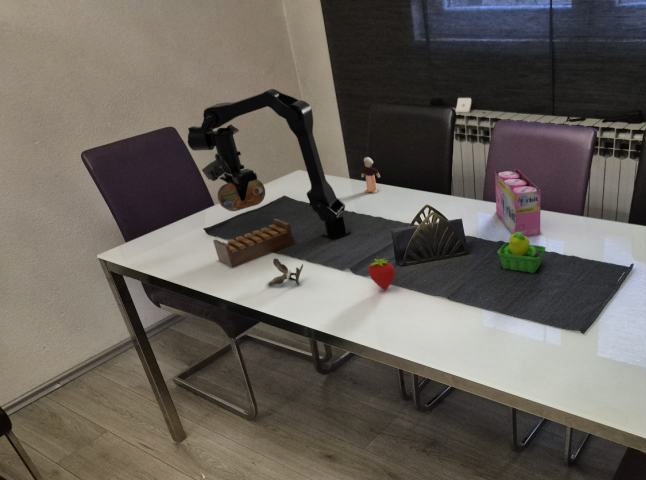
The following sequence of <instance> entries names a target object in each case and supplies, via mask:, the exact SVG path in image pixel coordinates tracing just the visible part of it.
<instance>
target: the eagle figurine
mask: <svg viewBox="0 0 646 480" xmlns="http://www.w3.org/2000/svg"><path fill="white" fill-rule="evenodd" d="M272 263H273V265H274V266H275V268H276V269H277V270H278V271H279V272H280V273H282V275H279V276H276V277H274V278H273V279H272V280H271V281H270V282H268V286H269V287H272V286H275V285H281V284H284V281H285V280H286V282H288V281H289V280H290V281H292V282H295V283H296V285H297V286H299V285H300V283H299V279H300V275H301V272H302V271H303V267H304V263H302V264H301V266H300V268H299V267H295V272H292V271H291V269H289V268H288V267H287V266H286V265H285V264H283V263H281V261H280V260H279V258H273V261H272ZM292 276H295V278H294V277H292Z"/></svg>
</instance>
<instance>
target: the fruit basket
mask: <svg viewBox="0 0 646 480" xmlns="http://www.w3.org/2000/svg"><path fill="white" fill-rule="evenodd" d="M530 243H531V242H530V239H529V238H528V236H524V235H523V234H522V233H521V232H516V233H514V234H512V233H511V236H510V237H509V241H507V242H505V243H504V244H503V245H502V246H501V247H500V248H499V249H498V250H497V252H496V253H497V256H498V258H499V260H500V264H501V266H502V269H503V270H510V271H519V272H525V273H530V274H535V272H536V271H537V270H538V269H539V268H540V266H541V263H542V260H543V257H544V253H545V251H546V249H547V248H546V246H544V245H535V244H530Z"/></svg>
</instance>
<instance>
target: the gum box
mask: <svg viewBox="0 0 646 480" xmlns="http://www.w3.org/2000/svg"><path fill="white" fill-rule="evenodd" d="M494 174H495V177H494V178H495V179H494V181H495V182H494V183H495V211H496V214H497V215H498V216H499V218H500V219H501V220H502V222H503V223H504V224H505V226H506V227H507V229H508V230H509V231H510V232H511V235H512V234H514V233H516V232H521V233H522V234H523V235H524V236H526V237H531V236H538V235H540V234H541V200H542V196H541V195H542V194H541V193H542V191H541V189H540V188H539V187H538V186H537V185H535V184H534V183H533V182H532V181H531V180H530V179H529V178H528V177H526V176H525V174H523V173H522V171H520V170H519V169H518V168H512V170H511V171H502V172H499V171H498V170H496V171H494Z"/></svg>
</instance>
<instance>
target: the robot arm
mask: <svg viewBox="0 0 646 480" xmlns="http://www.w3.org/2000/svg"><path fill="white" fill-rule="evenodd" d="M264 108H270V109H271V110H272V111H273V112H274V113H275V114H276V115H277V116H279V117H281V118H283V119H285V121H286V123H287V126H288V128H289V129H290V131H291V132H292V133H293V134H294V136H295V137H296V139H297V142H298V146H299V149H300V152H301V156H302V159H303V163H304V166H305V169H306V172H307V176H308V179H309V182H310V189H309V190H308V191H307V192H306V197H307V199H308V201H309V207H311V209H312V210H313V211H314V213H316V214H317V215H318V217H319V219H320V221H322V222H324V226H325V227H324V228H325V232H323V233H322V236H324V237H327V238H329V239H332V240H337V239H339V238H342V237H345V236H347V235H350V234H351V231H350V230H347V229H346V224H345V218H344V215H343V213H344V212H345V211H346V210H345V209H346V204H345V203H344V202H343V201H342V200H341V199H339V198H338V197H337V196H336V193H335V191H334V189H333V187H332V186H331V184H330V183H329V182H328V181H327V179H326V175H325V171H324V168H323V164H322V161H321V157H320V154H319V150H318V147H317V144H316V140H315V136H314V131H313V130H314V116H313V115H314V114H313V108H312V107H311V105H310V103H308V102H307V101H305V100H302V99H301V100H299V99H297V98H296V97H293V96H291V95H288V94H285V93H282V92H281V91H279V90H277V89H275V88H270V89H269V88H268V89H267V90H265V91H263V92H261V93H257V94H254V95H251V96H248V97H246V98H244V99H241V100H237V101H232V102H231V101H230V102H228V101H227V102H219V103H216V104H213V105H211V106H209V107H206V108H204V110H203V116H202V117H203V120H202V123H201V125H200V126H195V125H194V126H190V127H187V128H188V133H187V144H188V146H189V148H190V149H191V151H196V152H197V151H213V150H214V149H216V153H215V154H214V158H215V159H214V160H213V161H212V162H210V163H208V164H207V165H205V167H203V168H202V169H201V171H202V173H203V174H204V176H205V177H206V178H207V180H210V181H212V182H215V181H217V180H218V179H220V180H221V181H223V182H224V183H225V184H228V183H231V184H233V185H234V186H235V188H236V190H237V193H238V195H239V197H240V199H241V201H244V200H245V196H246V192H247V187H248V183H249V182H250V181H253V180H256V179H257V180H258V175H257V172H256V171H254V170H252V169H250V168H245V165H244V164H241V163H242V162H241V159H240V157H239V156H241V155H242V153H241V151H239V150H238V149H237V145H236V141H235V138H234V135H235V134H236V133H238V132H240V131H239V130H240V129H238V128H237V127H235V126H234V125H233V124H228V123H230V122H231V121H233V120H235V119H236V118H238V117H240V116H243V115H246V114H249V113H252V112H255V111H258V110H262V109H264ZM226 124H228V125H227V126H226V127H222V126H225V125H226Z"/></svg>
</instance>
